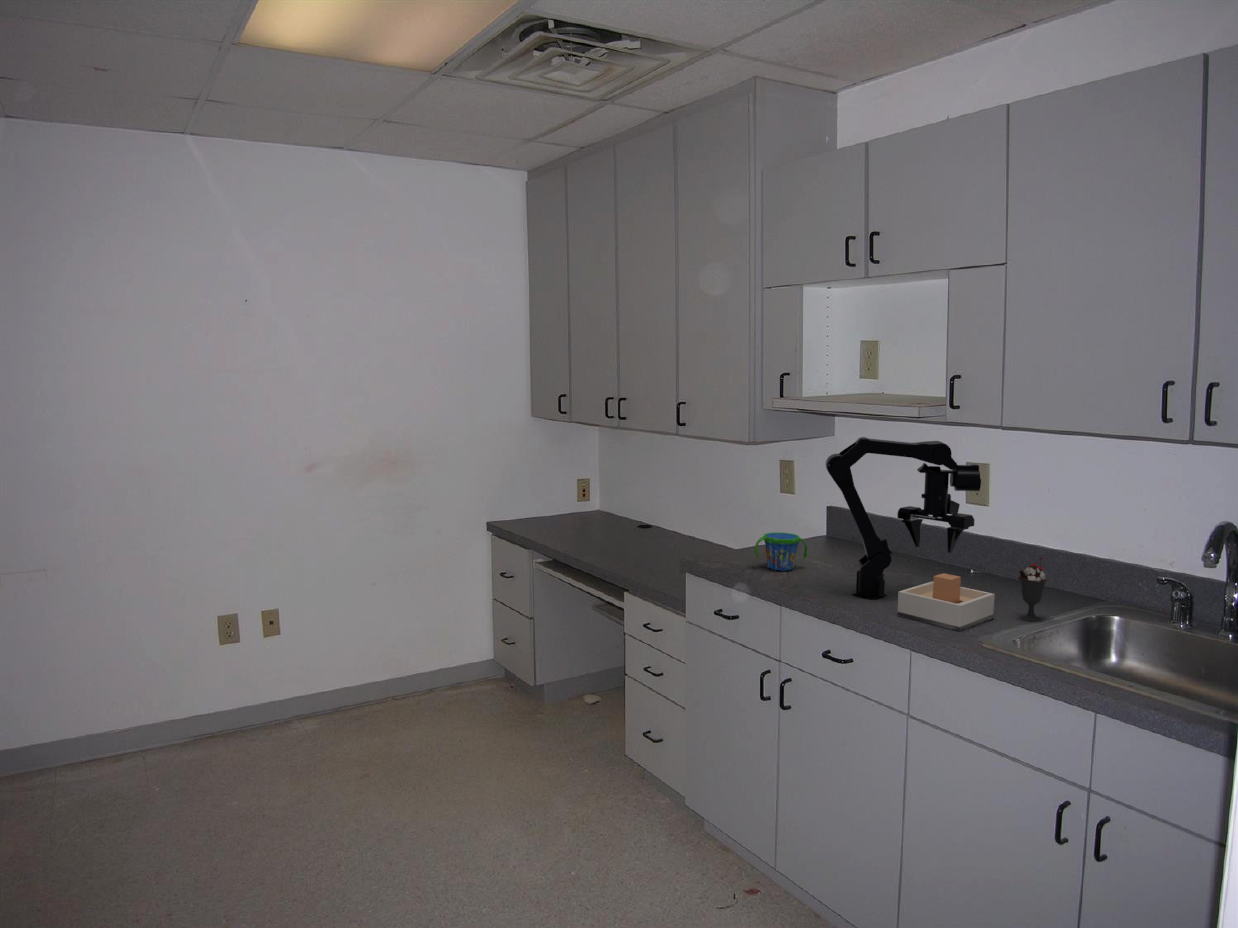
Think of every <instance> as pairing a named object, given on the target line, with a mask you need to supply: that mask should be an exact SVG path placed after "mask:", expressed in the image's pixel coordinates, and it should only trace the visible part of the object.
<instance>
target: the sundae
mask: <svg viewBox="0 0 1238 928" xmlns="http://www.w3.org/2000/svg"><path fill="white" fill-rule="evenodd" d="M1043 559H1044V558H1043V557H1039V559H1038V561H1039V563H1041V562H1042V560H1043ZM1038 561H1036V562H1035V563H1031V564H1030V566H1027V567H1026V568H1025V569H1024V570H1023V569H1020V570H1019V571H1018V572H1019V575H1018V576H1017V578H1018V580H1019V581H1020V584H1021V593H1022V594H1021V595H1022V599H1023V601H1024V602H1025V603H1026V604H1027V606H1028V609H1027V610H1028V611H1027V613H1026V614H1025V615H1024V614H1023V615H1020V616H1019V619H1020V620H1022V621H1024V622H1025V621H1026V622H1031V623H1032V622H1033V623H1037V622H1036V621H1040V622H1042V621H1041V619H1042V618H1041V617H1040V616H1037V615H1036V614H1035V610H1034V609H1035V605H1038V604H1039V603H1040V602H1041V601H1042V597H1043V594H1044V589H1045V585H1046V582H1048V581H1049V579H1048V578H1046V577H1047V576H1046V574H1045V572H1044V571H1043V567H1042V565H1041V564H1039V566H1037V564H1038Z"/></svg>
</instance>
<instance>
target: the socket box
mask: <svg viewBox="0 0 1238 928" xmlns="http://www.w3.org/2000/svg"><path fill="white" fill-rule="evenodd" d="M995 596H996V595H995V593H991V592H987V591H983V590H978V589H972V588H968V587H964V586H960V603H958V604H956V603H952V602H947V601H943V600H938V599H934V598H933V581H929V582H926V583H925V582H924V583H923V584H918V585H916V586H913V587H909V588H906V589H903V590H902V589H901V590H900V591H899V590H898V594H897V597H898V598H897V600H898V601H897V613H896V614H897V615H900V616H899V617H901V616H903V617H902V618H905V619H909V620H913V619H915V620H914V621H917V620H918V621H917V622H921V621H922V622H921V623H925V624H929V625H933V624H934V625H933V626H937V627H940V626H941V628H945V629H948V630H952V629H954V630H953V631H957V632H962V631H964V630H966V629H968V628H972V627H974V626H977V625H979V624H981V623H984V621H985V622H987V621H990V620H992V619H994V613H995ZM989 619H990V620H989ZM986 620H987V621H986ZM976 624H977V625H976ZM973 625H974V626H973ZM971 626H972V627H971ZM963 629H964V630H963Z"/></svg>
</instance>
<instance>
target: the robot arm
mask: <svg viewBox="0 0 1238 928" xmlns="http://www.w3.org/2000/svg"><path fill="white" fill-rule="evenodd" d="M866 454H873V455H883V456H884V455H885V456H894V457H903V458H911V459H915V460H919V461H921V462H923V463H922V465H920V466H919V467H918V468H917V469H916V470H917V472H918V473H920V474H924V493H921V499H924V500H923V509H922V507H919V506H911V505H909V506H903V507H899V509H898V511H897V513H896V514H897V517H896V518H897V519H900V520H901V523H904V525H905V526H906V528H907V531H908V532H909V534H910V537H911V540H912V541H913V543H914V546H915V547H916V548H919V547H920V544H921V543H920V542H921V525H922V523H923V520H931V521H935V522H936V521H937V522H943V523H948V525H949V527H946V530H947V532H946V534H947V535H946V536H947V538H946V539H947V540H946V541H947V552H948V554H952V552H953V551H954V548H955V546H956V543H957V541H958V539H959V538H960V536H961V534H962V532H964V531H965V530H968V529H969V528H971V527H974V526H975V518H974V516H973V515H972V514H967V513H961V512H959V510H960V503H958V502H956V501H954V500H952V494H951V493H949V486H950V487H953V488H954V489H953V490H954V491H956V492H959V491H961V492H980V489H981V485H982V478H981V472H980V465H978V464H974V463H973V464H958V463H957V462H956V461H955V460H954V458H953V457H952V449H951V448H950V446H949V445H948V444H947V443H944V442H942V441H939V440H929V441H919V442H918V441H917V442H909V441H907V442H906V441H897V440H896V441H895V440H885V439H878V438H869V437H865V436H861V437H858V439H856V441H855V442H853V443H852V444H850V445H849V446H847V447H846V448H844V449H842V450H841V451H840V452H839V453H832V454H831V455H829V456H828V457H827V459H826V460H825V469H826V470H827V472H828V474H829V475H830V477H831V478H832V480H833V481H834V482H835V484H836V486H837V487H838V488H839V491H840V492H841V493H842V495H843V498H844V500H845V501H846V504H847V506H848V509H849V511H850V513H851V515H852V518H853V519H854V522H855V524H856V526H857V528H858V531H859V533H860V535H861V539H862V543H863V548H864V553H865V554H864V555H863V556H862V557H860V558H859V559H858V560H857V564H858V567H859V569H860V570H856V579H855V580H856V586H855V591H853V592H852V593H851V594H852V595H853V596H856V597H860V598H866V599H870V600H877V599H880V598H882V597H885V596H887V593H886V592H885V587H886V580H885V579H884V575H885V573H884V571H885V569H887V568H889V567H890V566H891V563H892V556H891V555H892V554H893V551H892V549H891V548H890V546H889V544H888V540H887V538H886V537H885V535H884V534H882V535H880V536H879V535H878V534H877V533H876V530H875V528H874V525H873V524H872V522H871V519H870V517H869V515H868V513H867V511H866V509H865V507H864V504H863V502H862V500H861V497H860V495H859V493H858V491H857V488H856V487H855V483H854V478H853V474H852V469H851V467H852V466H853V465H855V464H856V463H857V462H858V461H859V460H861V459H862V458H863V457H864V456H865V455H866ZM927 463H929V464H932V465H928V464H927ZM941 466H943V467H945V468H948V469H942V468H941Z"/></svg>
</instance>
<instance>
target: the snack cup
mask: <svg viewBox="0 0 1238 928" xmlns="http://www.w3.org/2000/svg"><path fill="white" fill-rule="evenodd" d="M762 541H764V544H765V545H764V546H765V555H766V562H767V564H766V565H767V568H768V569H769V568H771V569H770V570H772V569H774V570H773V571H776V570H781V571H780V572H785V571H788V570H790V571H791V569H792V570H793V569H794V566H795V562H796V555H797V551H798V546H799V543H800V541H801V542H802V543H803V544H804V547H805V548H804V553H803V558H804V559H807V558H808V553H809V548H808V545H807V542H806V540H804V539H803V538H801V537H800V536H799V535H798V534H796V533H791V532H778V531H777V532H776V531H775V532H768V533H764V534H763V536H761V537H759V539H758V540H757V541H756V543H755V545H754V555H755V558H756V559H758V558H759V555H758V553H759V543H761V542H762Z"/></svg>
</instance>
